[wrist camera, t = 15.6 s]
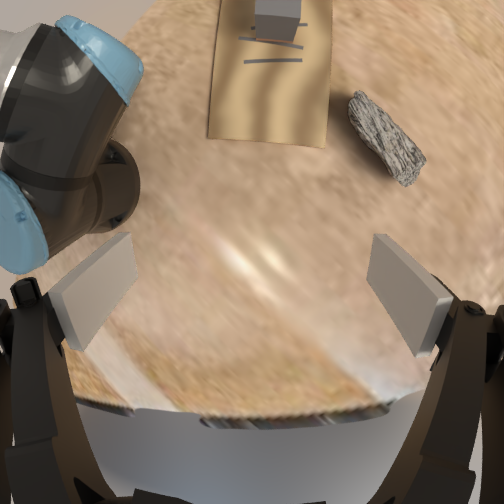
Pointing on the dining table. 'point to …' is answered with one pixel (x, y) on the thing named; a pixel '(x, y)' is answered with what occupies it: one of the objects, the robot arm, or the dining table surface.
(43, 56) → the robot arm
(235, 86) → the board
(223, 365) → the dining table surface
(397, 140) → the rock
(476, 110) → the dining table surface
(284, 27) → the block
